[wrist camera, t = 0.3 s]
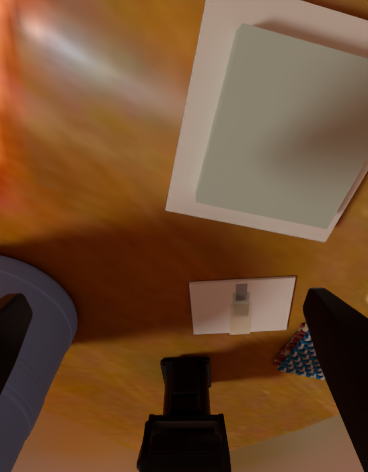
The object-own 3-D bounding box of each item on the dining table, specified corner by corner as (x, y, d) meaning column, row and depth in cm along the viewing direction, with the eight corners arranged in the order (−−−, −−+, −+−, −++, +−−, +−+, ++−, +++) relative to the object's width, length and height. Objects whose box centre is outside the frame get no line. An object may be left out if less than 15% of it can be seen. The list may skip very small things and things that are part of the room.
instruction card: (284, 329, 30) (285, 331, 30) (193, 334, 31) (194, 336, 30) (294, 275, 26) (295, 278, 26) (188, 282, 26) (188, 284, 26)
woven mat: (308, 305, 29) (316, 319, 27) (385, 325, 30) (398, 339, 29) (267, 358, 34) (271, 373, 32) (335, 373, 36) (342, 387, 34)
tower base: (314, 230, 23) (337, 255, 20) (166, 200, 22) (163, 221, 18) (415, 48, 16) (477, 37, 13) (208, -14, 15) (215, -45, 11)
